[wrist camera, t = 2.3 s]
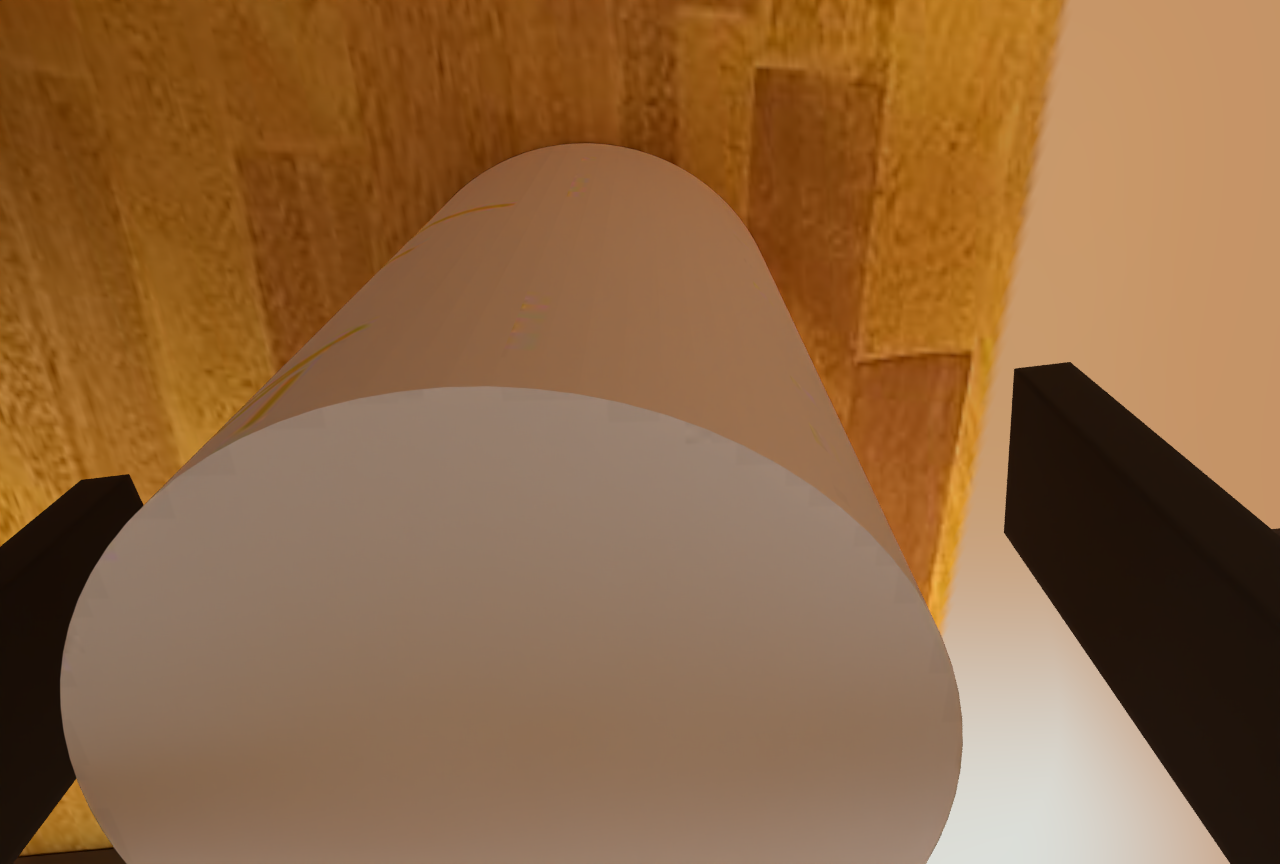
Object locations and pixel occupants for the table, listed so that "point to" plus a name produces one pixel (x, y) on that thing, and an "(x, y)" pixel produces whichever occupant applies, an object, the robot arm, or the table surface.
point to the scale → (75, 858)
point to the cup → (524, 572)
